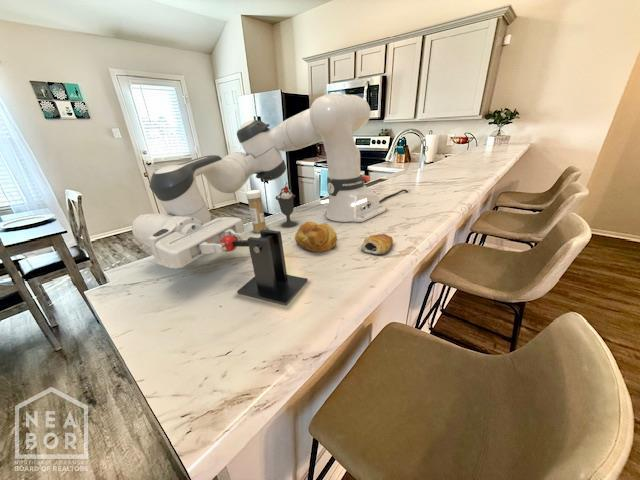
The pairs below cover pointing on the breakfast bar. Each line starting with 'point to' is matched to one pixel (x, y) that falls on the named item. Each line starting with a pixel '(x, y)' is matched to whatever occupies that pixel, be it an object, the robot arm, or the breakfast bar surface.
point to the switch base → (270, 271)
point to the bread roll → (316, 237)
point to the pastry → (377, 244)
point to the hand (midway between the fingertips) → (231, 243)
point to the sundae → (286, 205)
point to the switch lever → (242, 242)
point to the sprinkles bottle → (256, 210)
